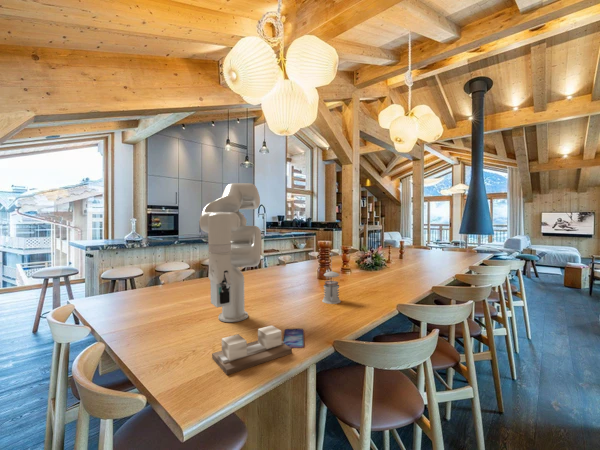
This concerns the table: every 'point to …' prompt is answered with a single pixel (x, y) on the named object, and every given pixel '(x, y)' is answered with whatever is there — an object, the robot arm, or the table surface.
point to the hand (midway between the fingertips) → (220, 299)
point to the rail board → (250, 350)
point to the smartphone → (294, 338)
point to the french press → (331, 288)
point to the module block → (217, 294)
